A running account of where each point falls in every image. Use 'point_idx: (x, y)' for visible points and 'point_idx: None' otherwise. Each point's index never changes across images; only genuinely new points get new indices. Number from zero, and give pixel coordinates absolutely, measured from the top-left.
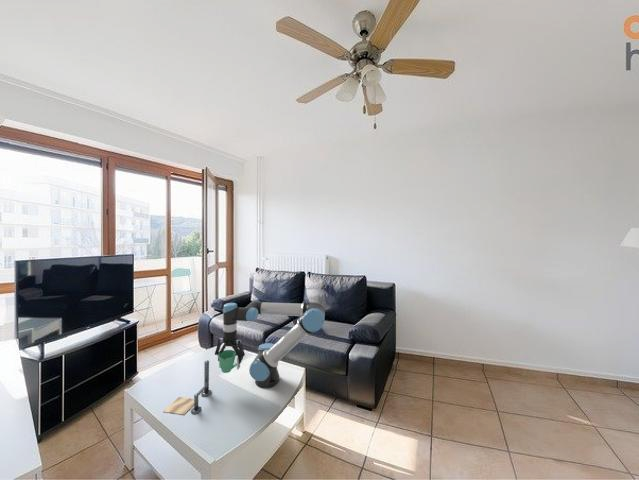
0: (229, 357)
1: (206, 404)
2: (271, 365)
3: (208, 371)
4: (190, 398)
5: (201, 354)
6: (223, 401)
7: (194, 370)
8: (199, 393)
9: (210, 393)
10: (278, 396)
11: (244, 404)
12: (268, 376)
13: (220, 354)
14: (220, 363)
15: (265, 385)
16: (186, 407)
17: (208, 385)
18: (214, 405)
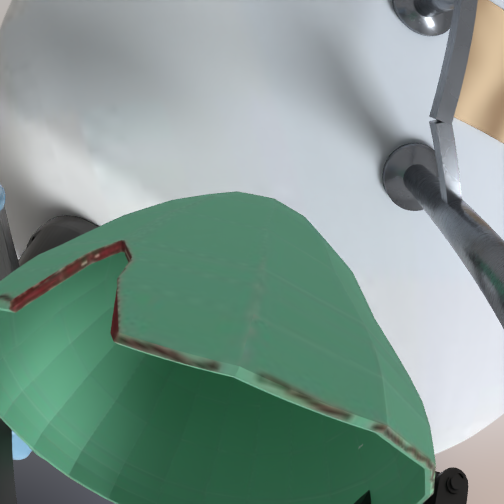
0: (218, 425)
1: (381, 56)
2: None
3: (475, 254)
4: (492, 136)
5: (438, 446)
6: (270, 76)
7: (475, 374)
8: (457, 7)
9: (388, 165)
10: (5, 151)
11: (123, 58)
12: (26, 255)
13: (363, 487)
14: (330, 256)
15: (59, 221)
16: (487, 49)
17: (421, 192)
18: (321, 38)
